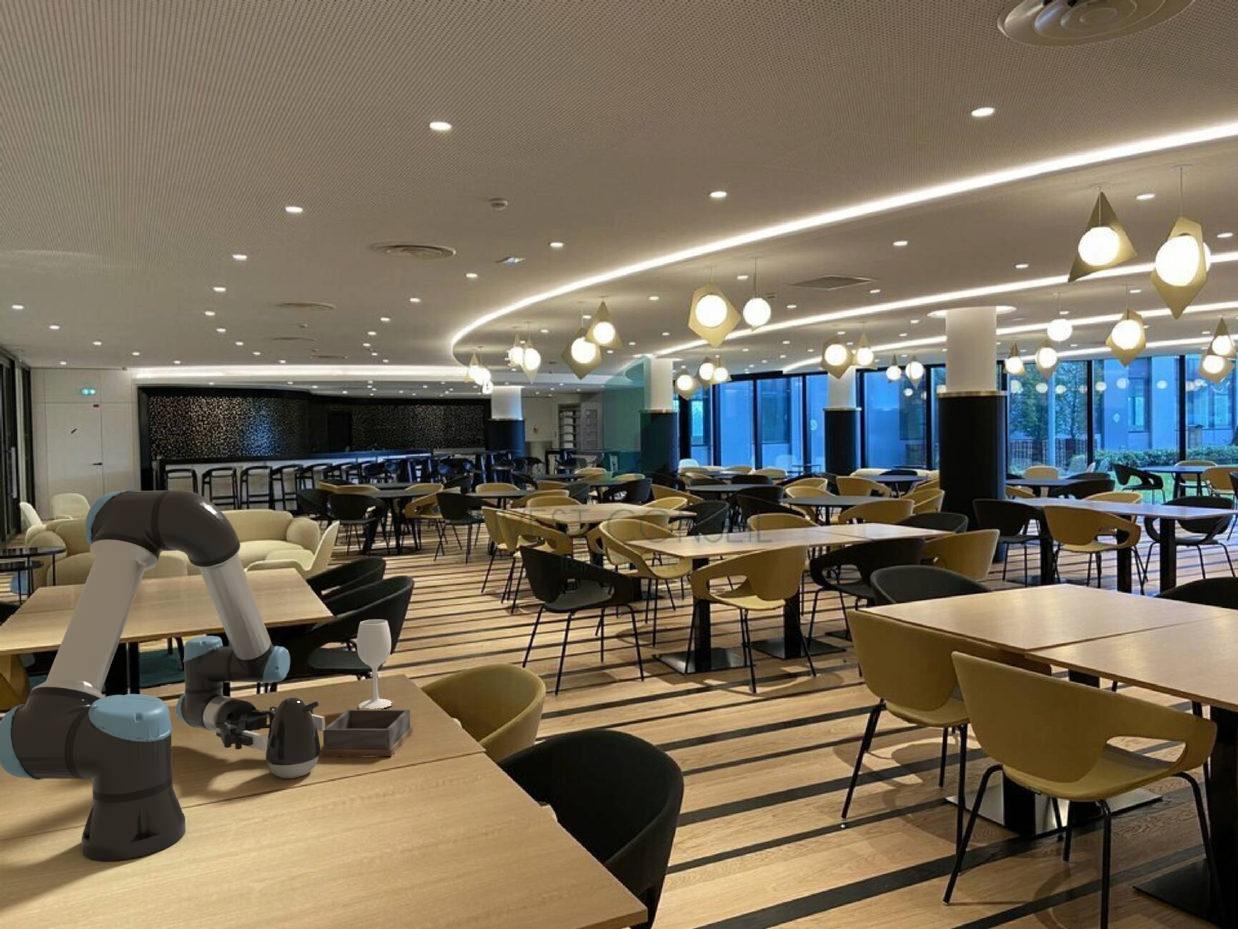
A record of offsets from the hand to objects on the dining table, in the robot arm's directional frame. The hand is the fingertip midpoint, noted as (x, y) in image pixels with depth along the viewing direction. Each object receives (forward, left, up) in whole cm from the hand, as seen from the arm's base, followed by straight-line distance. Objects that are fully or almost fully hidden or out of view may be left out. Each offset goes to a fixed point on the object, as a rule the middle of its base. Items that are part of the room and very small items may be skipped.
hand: (295, 733), depth 178 cm
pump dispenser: (-1, 0, -8) cm, 8 cm away
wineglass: (+44, -1, -8) cm, 45 cm away
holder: (+16, -9, -8) cm, 20 cm away
